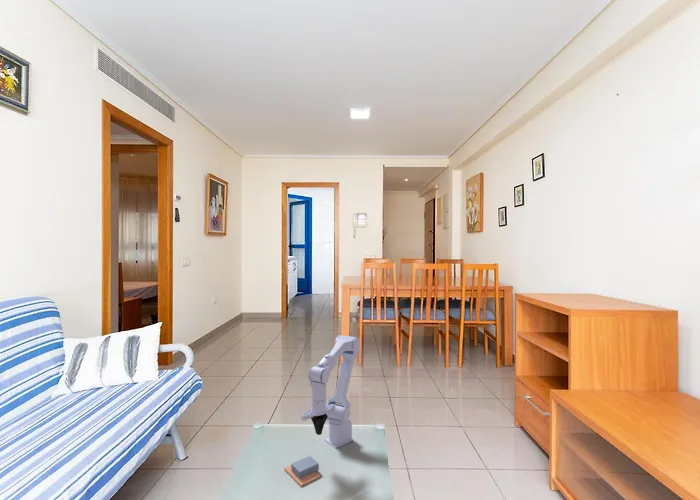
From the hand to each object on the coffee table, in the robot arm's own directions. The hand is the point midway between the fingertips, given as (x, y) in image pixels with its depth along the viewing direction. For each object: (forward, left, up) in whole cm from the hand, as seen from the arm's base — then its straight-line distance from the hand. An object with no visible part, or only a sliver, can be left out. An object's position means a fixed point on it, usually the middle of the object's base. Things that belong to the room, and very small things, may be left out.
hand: (318, 433), depth 138 cm
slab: (+4, +3, -9) cm, 10 cm away
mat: (+9, +3, -10) cm, 14 cm away
